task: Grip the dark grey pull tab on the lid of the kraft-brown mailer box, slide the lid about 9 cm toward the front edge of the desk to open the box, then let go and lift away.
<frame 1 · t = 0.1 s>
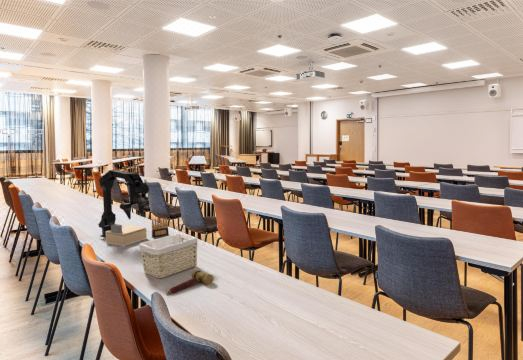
hand: (135, 217, 234), 15 cm above the table, tool pointing down, fingers open, 9 cm apart
storage basket: (170, 270, 183), on the table
ammunition clip: (160, 236, 245), on the table
gavel: (187, 288, 161), on the table
mailer box: (126, 240, 237), on the table
mailer lid: (125, 226, 236), point 9 cm above the table, slide at 0.0 cm
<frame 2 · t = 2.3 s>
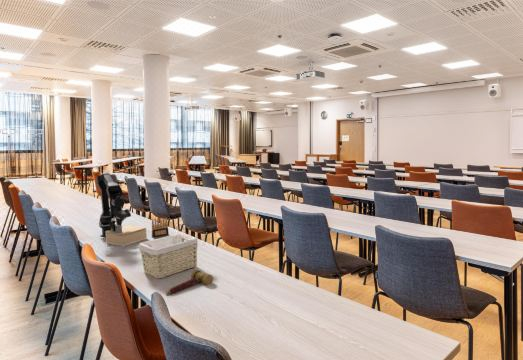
hand: (116, 230, 230), 8 cm above the table, tool pointing down, fingers closed on mailer lid, 3 cm apart
mailer lid: (125, 226, 236), point 9 cm above the table, slide at 0.0 cm, touching gripper
everything else where it was.
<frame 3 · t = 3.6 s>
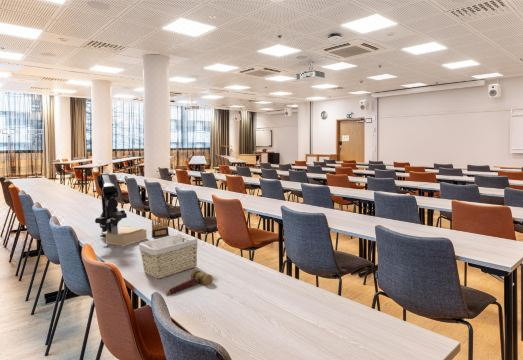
hand: (112, 231, 227), 8 cm above the table, tool pointing down, fingers closed on mailer lid, 3 cm apart
mailer lid: (121, 227, 233), point 9 cm above the table, slide at 3.1 cm, touching gripper
everything else where it was.
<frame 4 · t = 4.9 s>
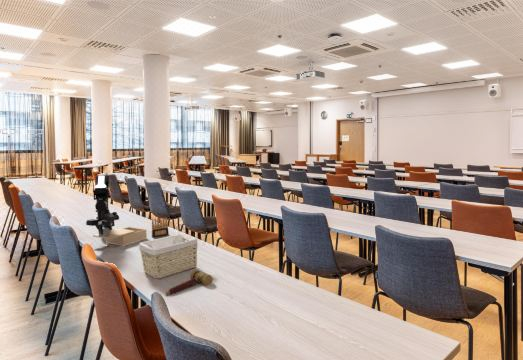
hand: (104, 234, 222), 8 cm above the table, tool pointing down, fingers closed on mailer lid, 3 cm apart
mailer lid: (114, 229, 228), point 9 cm above the table, slide at 8.9 cm, touching gripper
everything else where it was.
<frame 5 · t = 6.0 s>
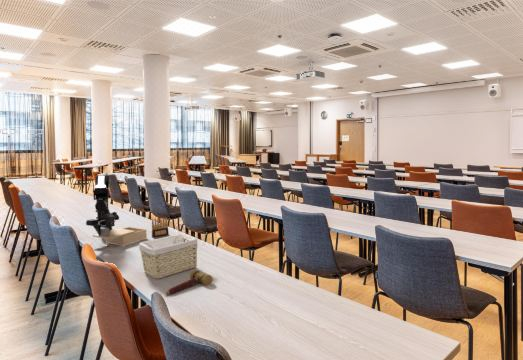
hand: (104, 234, 222), 8 cm above the table, tool pointing down, fingers open, 6 cm apart
mailer lid: (113, 229, 228), point 9 cm above the table, slide at 8.9 cm
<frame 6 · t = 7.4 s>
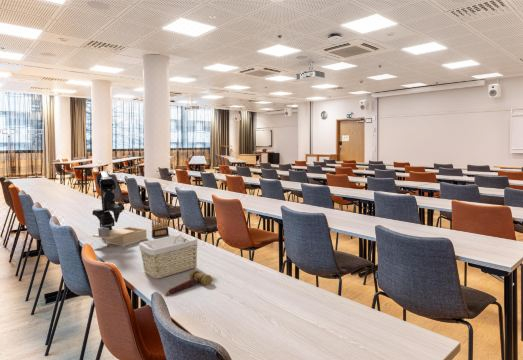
hand: (109, 224, 228), 13 cm above the table, tool pointing down, fingers open, 9 cm apart
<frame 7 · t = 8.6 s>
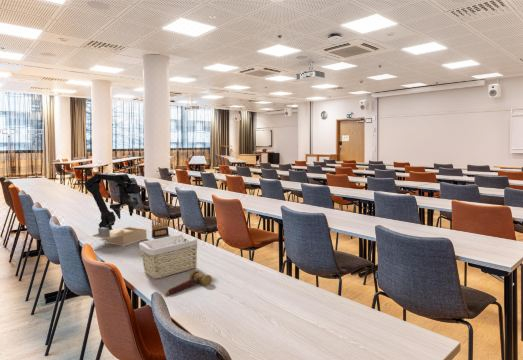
hand: (125, 217, 244), 13 cm above the table, tool pointing down, fingers open, 9 cm apart
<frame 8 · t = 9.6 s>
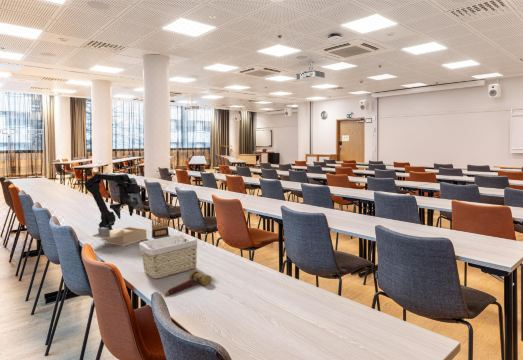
hand: (125, 217, 244), 13 cm above the table, tool pointing down, fingers open, 9 cm apart
at the end: mailer lid slide at 8.9 cm; the gripper is holding nothing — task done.
